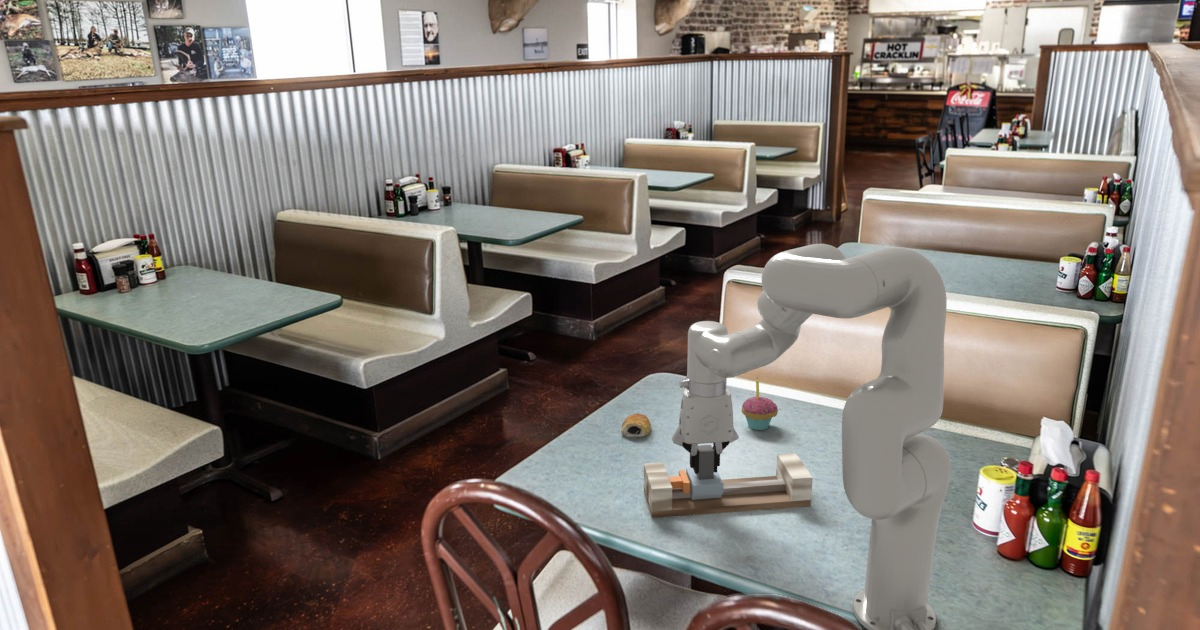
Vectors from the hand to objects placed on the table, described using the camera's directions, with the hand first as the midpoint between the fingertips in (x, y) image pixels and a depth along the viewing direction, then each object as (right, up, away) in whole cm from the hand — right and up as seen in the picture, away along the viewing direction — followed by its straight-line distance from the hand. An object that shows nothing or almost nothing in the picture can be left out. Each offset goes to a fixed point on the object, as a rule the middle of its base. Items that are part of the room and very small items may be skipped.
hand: (704, 468), depth 163 cm
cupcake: (+17, +4, +34) cm, 38 cm away
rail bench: (+5, -7, +3) cm, 8 cm away
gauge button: (-6, -4, +1) cm, 8 cm away
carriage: (0, -5, +2) cm, 5 cm away
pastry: (-12, +3, +33) cm, 35 cm away
